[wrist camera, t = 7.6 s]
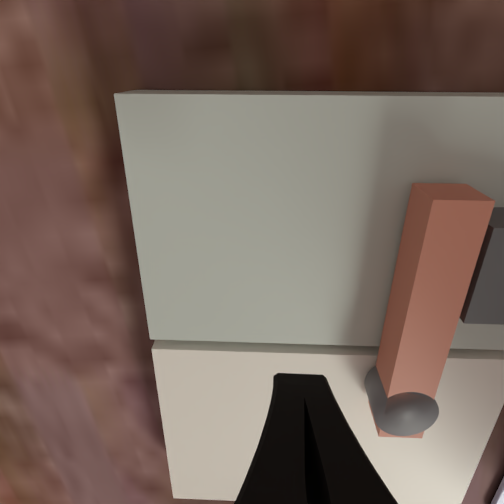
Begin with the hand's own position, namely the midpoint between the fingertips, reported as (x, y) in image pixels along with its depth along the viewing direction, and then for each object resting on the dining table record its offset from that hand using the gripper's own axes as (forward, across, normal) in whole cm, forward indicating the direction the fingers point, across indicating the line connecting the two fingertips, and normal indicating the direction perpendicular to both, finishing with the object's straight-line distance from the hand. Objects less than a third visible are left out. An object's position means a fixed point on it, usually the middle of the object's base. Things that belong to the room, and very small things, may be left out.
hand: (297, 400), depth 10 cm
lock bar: (+6, -5, +1) cm, 9 cm away
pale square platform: (+9, -2, +5) cm, 11 cm away
